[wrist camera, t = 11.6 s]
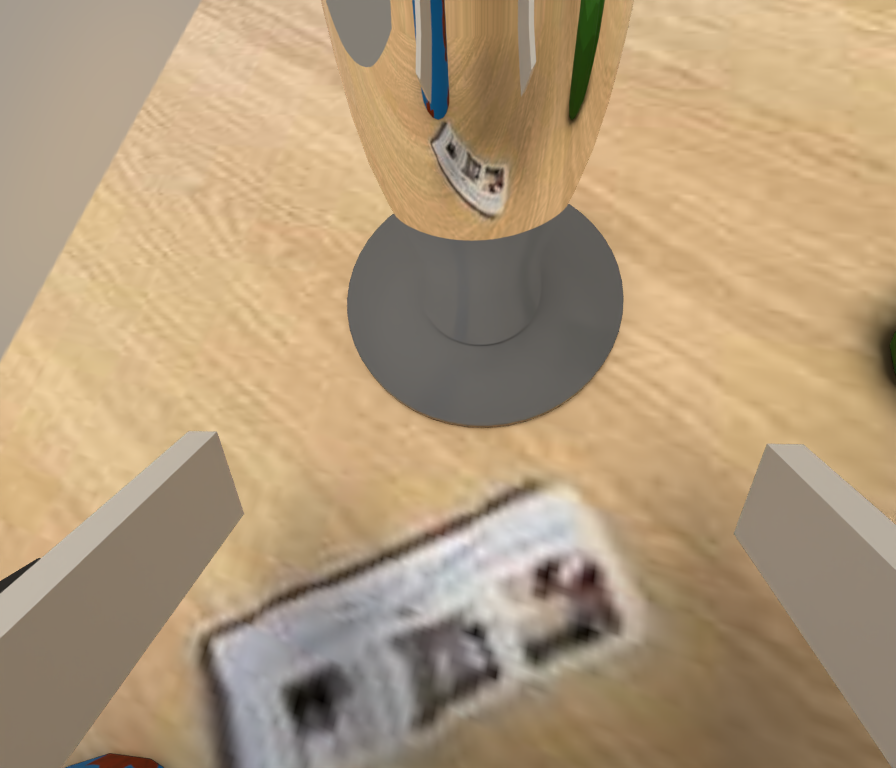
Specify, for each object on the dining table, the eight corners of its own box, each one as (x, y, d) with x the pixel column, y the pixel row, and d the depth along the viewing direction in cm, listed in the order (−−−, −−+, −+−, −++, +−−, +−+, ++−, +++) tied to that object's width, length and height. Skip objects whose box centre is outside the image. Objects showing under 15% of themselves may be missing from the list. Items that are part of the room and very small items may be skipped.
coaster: (517, 153, 25) (518, 142, 24) (678, 332, 21) (685, 325, 20) (310, 268, 24) (304, 259, 23) (435, 484, 19) (432, 482, 19)
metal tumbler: (514, 378, 20) (588, 12, 6) (388, 321, 21) (199, -81, 7) (571, 262, 22) (741, -242, 7) (452, 217, 23) (399, -274, 9)
